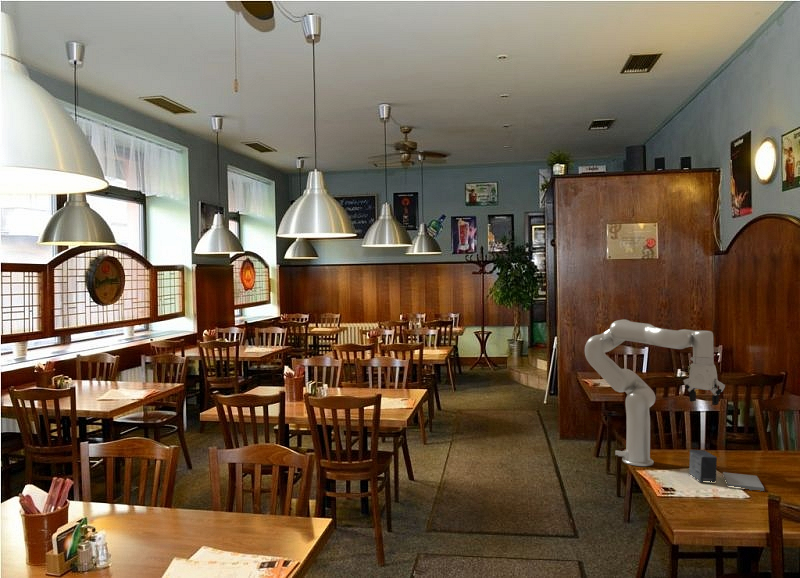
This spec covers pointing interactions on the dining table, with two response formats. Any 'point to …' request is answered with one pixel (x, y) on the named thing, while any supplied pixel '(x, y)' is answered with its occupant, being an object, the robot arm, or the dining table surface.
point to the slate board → (743, 481)
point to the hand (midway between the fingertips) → (703, 402)
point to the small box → (702, 465)
